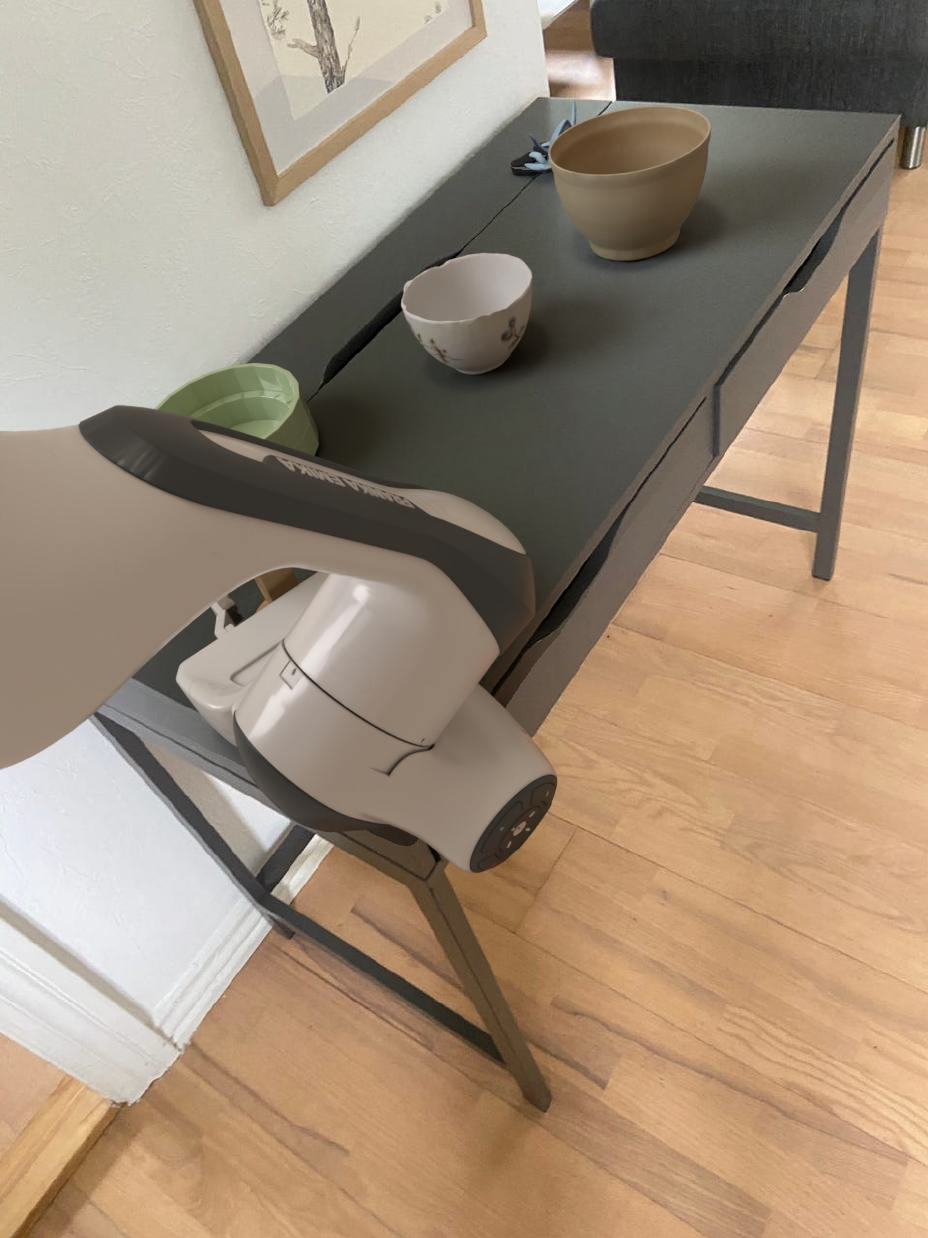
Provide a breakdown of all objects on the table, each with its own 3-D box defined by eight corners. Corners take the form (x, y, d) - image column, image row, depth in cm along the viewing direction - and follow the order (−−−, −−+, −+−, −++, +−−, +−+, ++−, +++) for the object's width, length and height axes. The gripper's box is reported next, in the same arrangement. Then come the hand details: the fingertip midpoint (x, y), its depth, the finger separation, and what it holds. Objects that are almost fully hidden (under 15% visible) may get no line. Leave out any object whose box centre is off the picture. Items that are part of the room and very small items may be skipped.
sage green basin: (140, 502, 87) (109, 452, 83) (230, 406, 95) (206, 356, 91) (263, 528, 80) (236, 476, 76) (348, 423, 88) (329, 370, 84)
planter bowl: (725, 261, 93) (725, 152, 85) (567, 291, 96) (553, 188, 88) (698, 192, 104) (696, 90, 96) (557, 221, 107) (543, 124, 99)
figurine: (587, 194, 112) (567, 136, 106) (510, 194, 119) (487, 140, 113) (623, 143, 115) (605, 83, 109) (546, 146, 122) (525, 90, 116)
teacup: (570, 338, 90) (559, 262, 84) (488, 409, 85) (471, 334, 79) (458, 307, 98) (441, 236, 93) (378, 370, 93) (355, 299, 88)
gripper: (479, 552, 61) (368, 468, 69) (217, 737, 55) (131, 621, 64) (496, 615, 65) (390, 529, 74) (256, 792, 60) (171, 676, 68)
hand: (269, 572), depth 69 cm, fingers open, 7 cm apart
